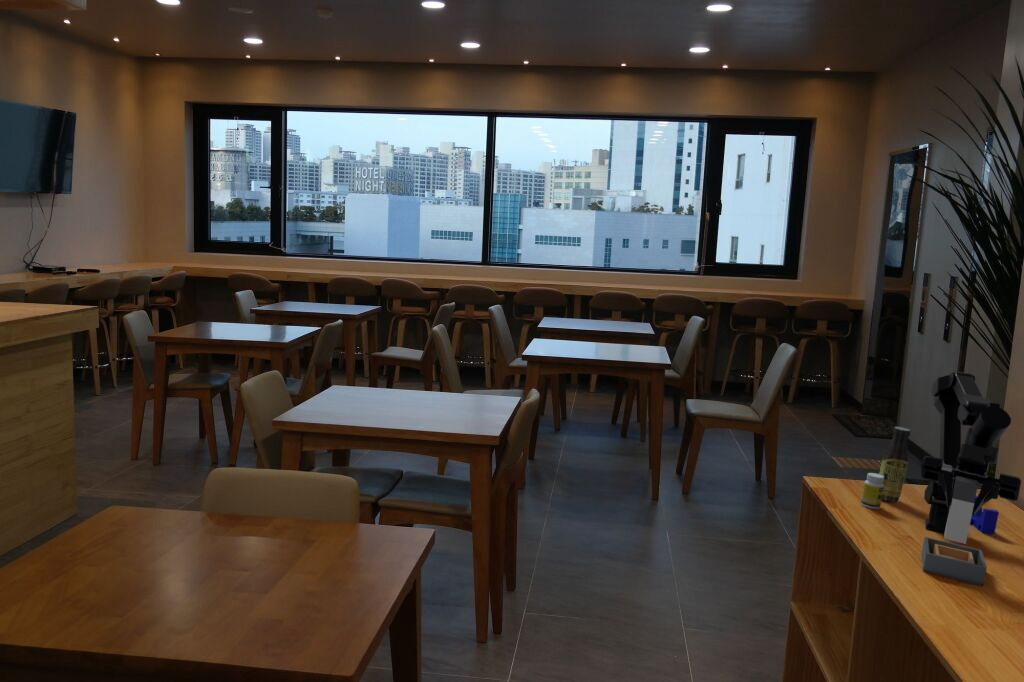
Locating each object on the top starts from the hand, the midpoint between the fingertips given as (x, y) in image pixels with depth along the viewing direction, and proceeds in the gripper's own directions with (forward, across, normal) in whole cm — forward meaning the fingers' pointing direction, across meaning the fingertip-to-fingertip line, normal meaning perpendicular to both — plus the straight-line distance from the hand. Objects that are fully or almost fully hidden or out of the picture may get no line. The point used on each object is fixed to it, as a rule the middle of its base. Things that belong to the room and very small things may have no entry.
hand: (960, 510), depth 172 cm
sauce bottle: (-20, -20, +40) cm, 49 cm away
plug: (+4, 0, +6) cm, 7 cm away
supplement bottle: (-13, -23, +32) cm, 41 cm away
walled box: (+9, 0, +10) cm, 14 cm away
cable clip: (-19, +1, +39) cm, 43 cm away
